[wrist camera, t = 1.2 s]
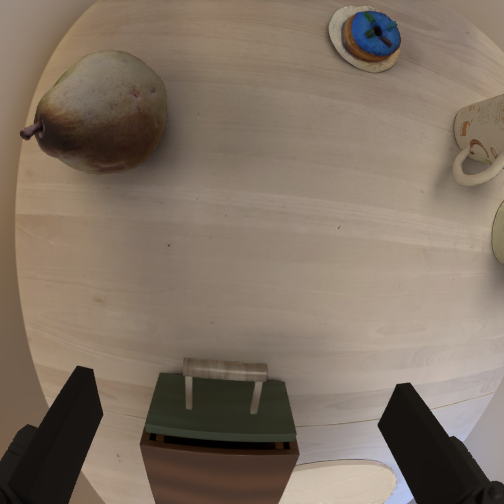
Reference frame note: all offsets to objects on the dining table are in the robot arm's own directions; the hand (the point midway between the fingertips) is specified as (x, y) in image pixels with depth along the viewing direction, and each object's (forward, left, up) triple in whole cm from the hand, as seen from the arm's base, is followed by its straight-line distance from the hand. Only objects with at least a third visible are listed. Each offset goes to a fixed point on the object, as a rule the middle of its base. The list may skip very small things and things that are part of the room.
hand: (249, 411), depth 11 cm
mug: (-16, +22, -18) cm, 33 cm away
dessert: (-24, +9, -18) cm, 31 cm away
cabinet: (+22, -1, -17) cm, 28 cm away
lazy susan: (+50, +16, -18) cm, 56 cm away
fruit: (-13, -12, -18) cm, 25 cm away
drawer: (+16, -1, -16) cm, 23 cm away
